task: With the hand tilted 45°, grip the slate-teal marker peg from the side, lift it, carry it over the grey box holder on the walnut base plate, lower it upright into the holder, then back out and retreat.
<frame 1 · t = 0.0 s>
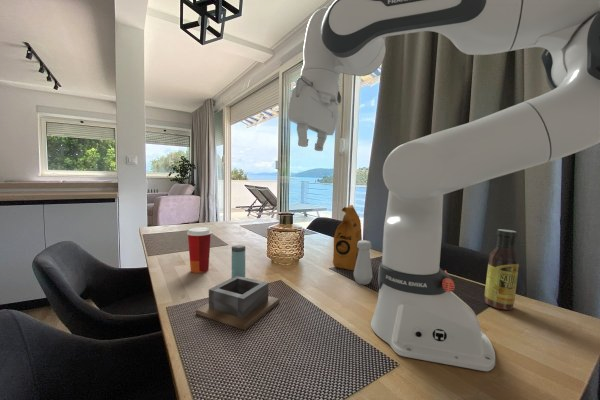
hand: (311, 148, 63), 39 cm above the table, tool pointing down, fingers open, 8 cm apart
marker peg: (238, 282, 79), on the table
grey box holder: (239, 307, 64), on the table
paper cup: (199, 270, 89), on the table
coffee package: (346, 265, 99), on the table
sauce bottle: (498, 306, 69), on the table
salt shaker: (362, 282, 82), on the table
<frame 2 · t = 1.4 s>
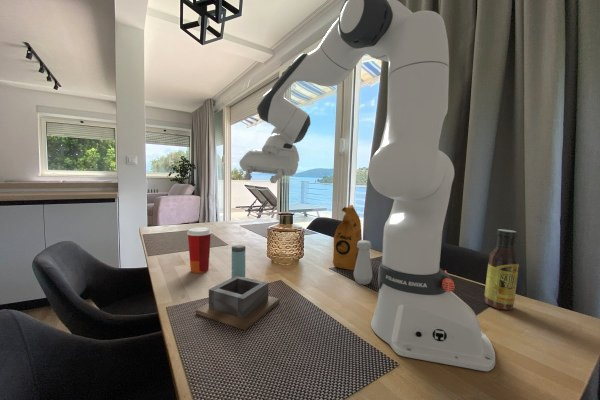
hand: (259, 180, 85), 31 cm above the table, tool tilted 45°, fingers open, 8 cm apart
nothing on the table moved.
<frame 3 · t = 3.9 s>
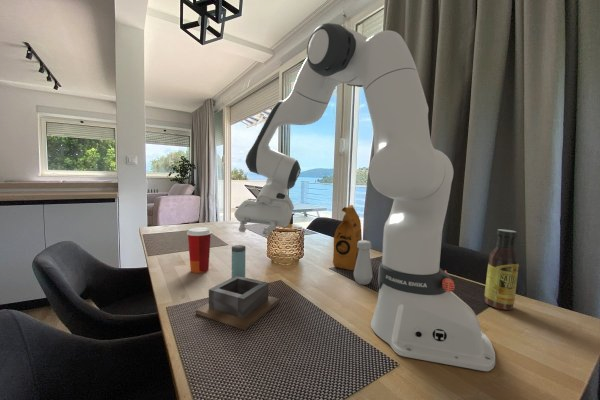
hand: (252, 232, 85), 14 cm above the table, tool tilted 45°, fingers open, 8 cm apart
nothing on the table moved.
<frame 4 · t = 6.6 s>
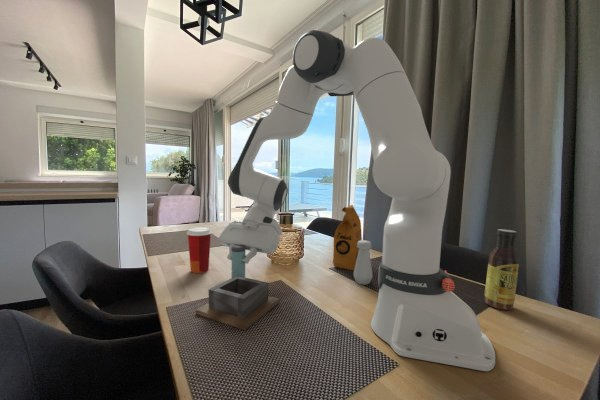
hand: (237, 260, 78), 7 cm above the table, tool tilted 45°, fingers closed on marker peg, 4 cm apart
marker peg: (238, 282, 79), on the table, touching gripper
everything else where it was.
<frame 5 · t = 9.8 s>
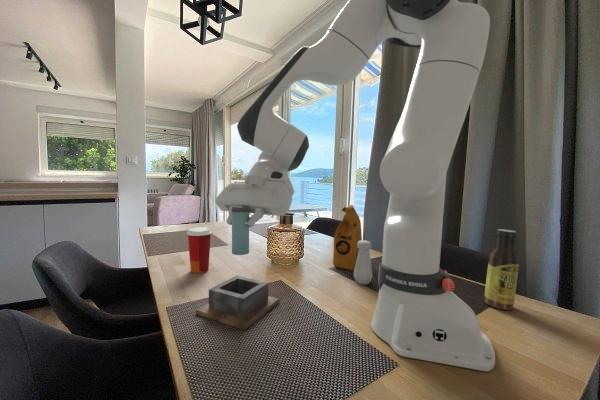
hand: (238, 224, 62), 21 cm above the table, tool tilted 45°, fingers closed on marker peg, 4 cm apart
marker peg: (240, 252, 63), point 14 cm above the table, touching gripper
everything else where it was.
when the fingers open (9 cm above the table, at t = 13.0 s): marker peg stays where it is, resting on grey box holder.
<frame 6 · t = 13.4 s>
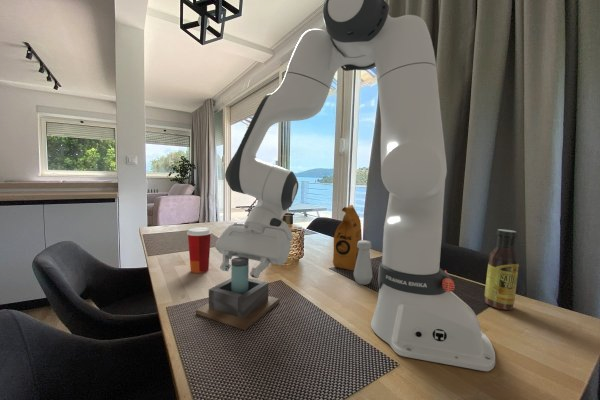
hand: (238, 273, 63), 9 cm above the table, tool tilted 45°, fingers open, 8 cm apart
marker peg: (239, 304, 64), point 1 cm above the table, touching grey box holder
everything else where it was.
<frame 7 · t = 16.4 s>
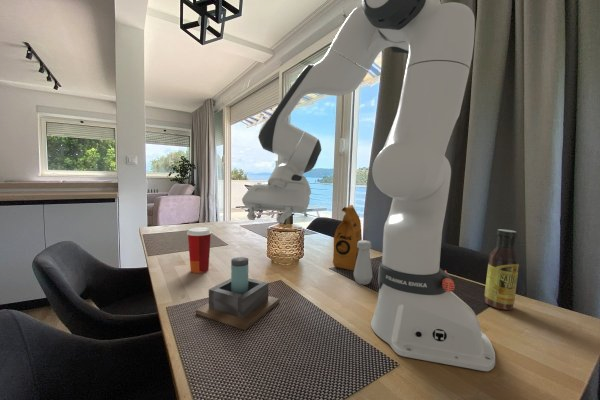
hand: (264, 220, 72), 20 cm above the table, tool tilted 45°, fingers open, 8 cm apart
nothing on the table moved.
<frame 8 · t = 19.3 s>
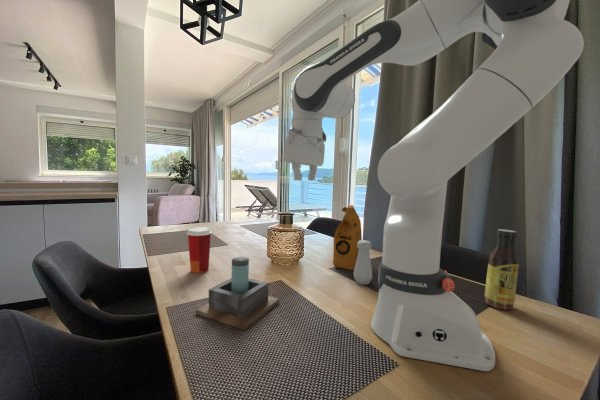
hand: (305, 180, 77), 31 cm above the table, tool pointing down, fingers open, 8 cm apart
nothing on the table moved.
at the end: marker peg 0.1 cm off-centre on the grey box holder, point 1.0 cm above the grey box holder's base; marker peg tilted 1°; the gripper is holding nothing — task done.
